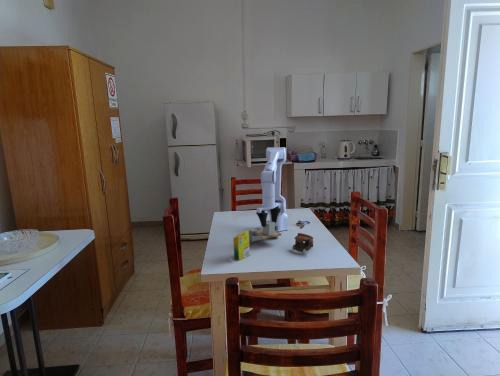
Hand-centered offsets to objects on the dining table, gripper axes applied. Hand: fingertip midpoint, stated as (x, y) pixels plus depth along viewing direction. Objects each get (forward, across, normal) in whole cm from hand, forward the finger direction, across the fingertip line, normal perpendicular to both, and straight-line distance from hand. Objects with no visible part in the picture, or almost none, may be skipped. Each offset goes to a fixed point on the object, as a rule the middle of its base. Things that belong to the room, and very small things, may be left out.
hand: (268, 224), depth 156 cm
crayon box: (+10, +19, +1) cm, 22 cm away
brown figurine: (+11, -3, +17) cm, 20 cm away
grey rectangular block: (+4, 0, 0) cm, 4 cm away
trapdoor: (+4, -2, -6) cm, 7 cm away
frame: (+10, -2, -6) cm, 12 cm away
